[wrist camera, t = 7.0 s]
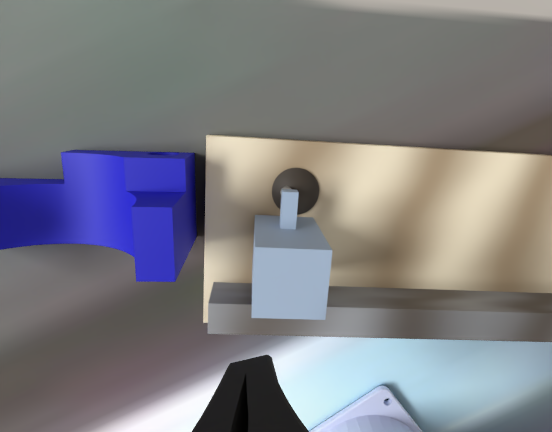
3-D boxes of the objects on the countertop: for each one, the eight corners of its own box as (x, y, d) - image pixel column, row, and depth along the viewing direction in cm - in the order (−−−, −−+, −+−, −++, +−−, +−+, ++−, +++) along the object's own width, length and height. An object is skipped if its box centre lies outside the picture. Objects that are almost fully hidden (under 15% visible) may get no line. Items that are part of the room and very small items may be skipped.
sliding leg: (316, 184, 19) (336, 207, 14) (308, 271, 20) (325, 320, 16) (256, 181, 19) (257, 203, 14) (252, 269, 20) (251, 317, 15)
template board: (615, 158, 21) (754, 174, 15) (569, 323, 23) (674, 391, 18) (208, 134, 19) (188, 142, 14) (205, 313, 22) (188, 384, 16)
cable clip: (195, 152, 20) (170, 167, 14) (197, 235, 21) (175, 281, 15) (-49, 146, 19) (-182, 160, 13) (-33, 233, 20) (-150, 280, 14)
